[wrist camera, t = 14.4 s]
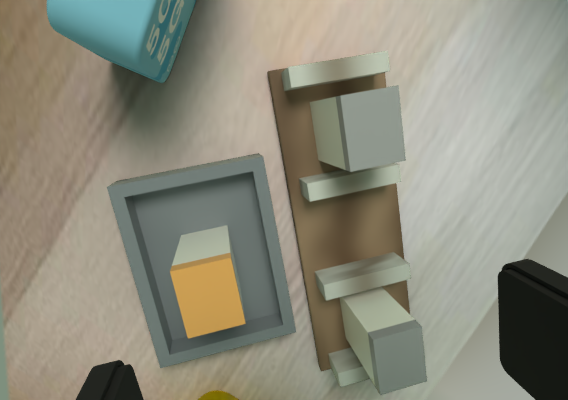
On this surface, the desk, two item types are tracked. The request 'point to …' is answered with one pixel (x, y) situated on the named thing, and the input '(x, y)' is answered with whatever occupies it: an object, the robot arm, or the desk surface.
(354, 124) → the block
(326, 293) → the fuse board
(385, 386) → the block
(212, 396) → the element tile
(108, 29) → the data package
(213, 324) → the block
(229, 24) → the desk surface
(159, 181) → the tray
